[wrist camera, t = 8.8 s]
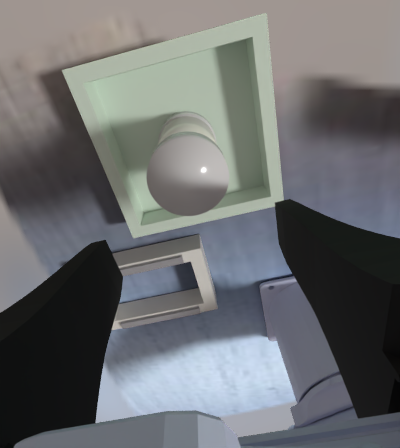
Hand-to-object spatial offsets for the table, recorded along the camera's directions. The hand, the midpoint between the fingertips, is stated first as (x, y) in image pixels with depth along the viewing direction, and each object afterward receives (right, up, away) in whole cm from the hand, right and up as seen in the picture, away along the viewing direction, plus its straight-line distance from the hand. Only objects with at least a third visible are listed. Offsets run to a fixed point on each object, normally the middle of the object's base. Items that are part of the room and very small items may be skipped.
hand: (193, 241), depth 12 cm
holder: (-4, -4, +13) cm, 14 cm away
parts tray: (-1, +7, +7) cm, 10 cm away
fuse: (-1, +6, +7) cm, 9 cm away
